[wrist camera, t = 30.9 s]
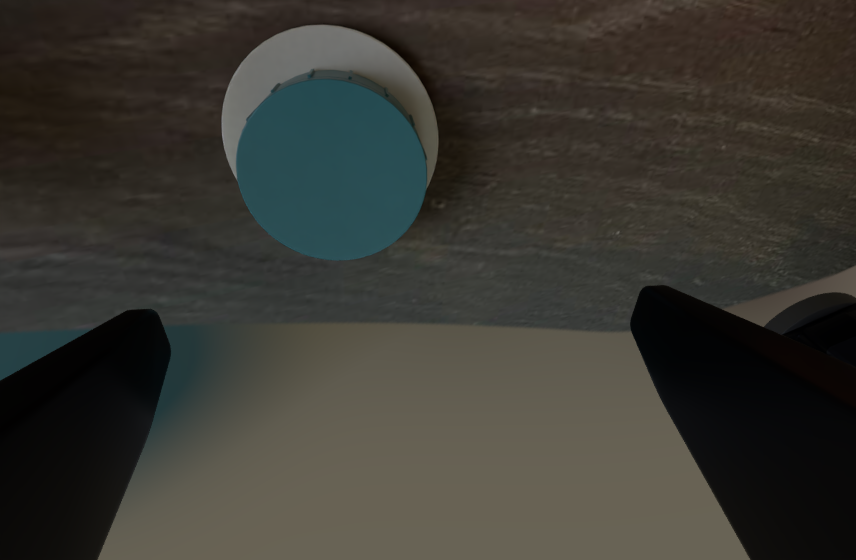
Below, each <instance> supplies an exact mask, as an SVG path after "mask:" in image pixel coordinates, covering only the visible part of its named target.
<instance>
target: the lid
mask: <svg viewBox="0 0 856 560" xmlns="http://www.w3.org/2000/svg"><path fill="white" fill-rule="evenodd" d="M246 121H247V122H246V124H245V126H244V128H243V130H242V133H241V135H240V138H239V141H238V147H237V152H236V173H237V180H238V184H239V188H240V191H241V194H242V196H243V199H244V201H245V203H246V205H247V207H248V209H249V210H250V212H251V214H252V215H253V216H254V218H255V219H256V221H257V222H258V223H259V224H260V225H261V226H262V227H263V228H264V230H265V231H266V232H268V233H269V234H270V235H271V236H272V237H273V238H275V239H276V240H277V241H279V242H280V243H282V244H283V245H285V246H287V247H289V248H291V249H292V250H294V251H297V252H299V253H302V254H304V255H307V256H311V257H315V258H319V259H326V260H352V259H357V258H362V257H365V256H369V255H372V254H374V253H376V252H379V251H381V250H383V249H385V248H386V247H388V246H390V245H391V244H392V243H394V242H395V241H396V240H398V239H399V238H400V237H401V236H402V235H403V234H404V233H405V232H406V231H407V230H408V229H409V227H410V226H411V225H412V223H413V222H414V220H415V219H416V217H417V215H418V213H419V211H420V209H421V206H422V204H423V201H424V197H425V194H426V187H427V164H426V160H427V156H426V153H425V150H424V148H423V147H422V144H421V141H420V138H419V136H418V133H417V130H416V128H415V122H414V120H413V117H412V115H411V114H410V115H409V114H408V113H407V111H406V110H405V109H404V107H403V106H402V105H401V104H400V102H399V101H398V100H397V99H396V98H395V97H394V96H393V95H392V94H391V93H390V92H388V88H387V87H385V88H383V87H382V86H380V85H378V84H377V83H375V82H373V81H371V80H370V79H367V78H365V77H362V76H360V75H357V74H354V73H353V71H352V70H350V72H346V71H338V70H318V71H315V70H314V69H311V70H310V72H307V73H304V74H301V75H298V76H295V77H293V78H291V79H289V80H287V81H285V82H284V83H282V84H280V83H278V84H276V85H275V86H274V88H273V89H272V90H271V93H270V94H269V95H268V96H267V97H266V98H265V99H264V100H263V101H262V102H261V103H260V105H259V106H258V107H257V108H256V109H255V110H254V111H253V112H252V113H251V114H250V115H249V116H248V117H247V118H246Z"/></svg>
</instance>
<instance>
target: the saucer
mask: <svg viewBox="0 0 856 560" xmlns="http://www.w3.org/2000/svg"><path fill="white" fill-rule="evenodd" d="M311 69H314V70H315V71H318V70H338V71H346V72H350V70H352V71H353V73H354V74H357V75H360V76H362V77H365V78H367V79H370V80H371V81H373V82H375V83H377V84H378V85H380V86H382V87H383V88H385V87H387V88H388V92H390V93H391V94H392V95H393V96H394V97H395V98H396V99H397V100H398V101H399V102H400V104H401V105H402V106H403V107H404V109H405V110H406V111H407V113H408V114H409V115H410V114H411V115H412V117H413V120H414V122H415V128H416V130H417V133H418V136H419V138H420V141H421V144H422V147H423V148H424V150H425V153H426V156H427V160H426V164H427V187H428V185H429V183H430V181H431V178H432V176H433V173H434V170H435V166H436V162H437V156H438V146H439V140H438V126H437V120H436V115H435V112H434V109H433V105H432V102H431V100H430V98H429V95H428V93H427V91H426V89H425V87H424V85H423V84H422V82H421V80H420V79H419V77H418V75H417V74H416V73H415V71H414V70H413V69H412V68H411V66H410V65H409V64H408V63H407V62H406V61H405V60H404V59H403V58H402V57H401V56H400V55H399V54H398V53H397V52H396V51H395V50H393V49H392V48H391V47H389V46H388V45H387V44H385V43H384V42H382V41H381V40H379V39H377V38H375V37H373V36H372V35H370V34H367V33H365V32H362V31H360V30H357V29H354V28H350V27H346V26H342V25H334V24H308V25H304V26H299V27H294V28H291V29H289V30H286V31H283V32H281V33H278V34H276V35H275V36H273V37H271V38H269V39H268V40H266V41H264V42H263V43H261V44H260V45H259V46H258V47H256V48H255V49H254V50H253V51H251V53H250V54H249V55H248V56H247V57H246V58H245V59H244V60H243V61H242V63H241V64H240V66H239V67H238V69H237V70H236V72H235V73H234V75H233V77H232V79H231V81H230V84H229V86H228V88H227V91H226V95H225V98H224V102H223V109H222V117H221V124H222V138H223V144H224V149H225V152H226V156H227V159H228V162H229V164H230V167H231V169H232V171H233V174H234V175H235V177H236V179H237V173H236V152H237V147H238V141H239V138H240V135H241V133H242V130H243V128H244V126H245V124H246V122H247V121H246V118H247V117H248V116H249V115H250V114H251V113H252V112H253V111H254V110H255V109H256V108H257V107H258V106H259V105H260V103H261V102H262V101H263V100H264V99H265V98H266V97H267V96H268V95H269V94H270V93H271V90H272V89H273V88H274V86H275V85H276V84H278V83H280V84H282V83H284V82H285V81H287V80H289V79H291V78H293V77H295V76H298V75H301V74H304V73H307V72H310V70H311ZM237 181H238V180H237ZM427 187H426V189H427Z"/></svg>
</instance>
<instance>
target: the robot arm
mask: <svg viewBox="0 0 856 560" xmlns="http://www.w3.org/2000/svg"><path fill="white" fill-rule="evenodd" d="M630 327H631V331H632V334H633V336H634V339H635V341H636V343H637V346H638V348H639V351H640V353H641V355H642V357H643V360H644V362H645V365H646V367H647V369H648V372H649V374H650V376H651V378H652V381H653V383H654V386H655V388H656V389H657V392H658V394H659V396H660V398H661V400H662V402H663V404H664V406H665V408H666V410H667V412H668V413H669V415H670V417H671V419H672V420H673V422H674V424H675V426H676V427H677V429H678V431H679V433H680V435H681V436H682V438H683V440H684V442H685V444H686V445H687V447H688V449H689V451H690V452H691V454H692V456H693V458H694V460H695V462H696V463H697V465H698V467H699V469H700V470H701V472H702V474H703V476H704V478H705V479H706V481H707V483H708V485H709V487H710V488H711V490H712V492H713V494H714V495H715V497H716V499H717V501H718V503H719V505H720V506H721V508H722V510H723V512H724V513H725V515H726V517H727V519H728V521H729V522H730V524H731V526H732V528H733V529H734V531H735V533H736V535H737V537H738V538H739V540H740V542H741V544H742V545H743V547H744V549H745V551H746V553H747V555H748V556H749V558H750V560H856V303H855V304H852V305H850V306H848V307H845V308H843V309H841V310H838V311H836V312H834V313H831V314H829V315H827V316H824V317H822V318H820V319H818V320H815V321H813V322H811V323H808V324H806V325H804V326H801V327H799V328H797V329H794V330H792V331H790V332H787V333H785V334H783V335H780V334H778V333H776V332H773V331H771V330H769V329H766V328H764V327H762V326H759V325H757V324H755V323H752V322H750V321H748V320H745V319H743V318H740V317H738V316H736V315H734V314H731V313H729V312H727V311H724V310H722V309H720V308H717V307H715V306H713V305H710V304H708V303H706V302H703V301H701V300H699V299H696V298H694V297H692V296H689V295H687V294H685V293H682V292H680V291H678V290H675V289H673V288H671V287H669V286H665V285H657V286H646V287H644V288H642V290H641V291H640V293H639V296H638V299H637V302H636V305H635V308H634V311H633V314H632V317H631V322H630ZM170 356H171V348H170V343H169V341H168V338H167V335H166V333H165V330H164V327H163V325H162V322H161V320H160V317H159V315H158V313H157V312H156V311H154V310H152V309H136V310H127V311H125V312H123V313H121V314H120V315H118V316H116V317H114V318H112V319H111V320H109V321H107V322H105V323H103V324H102V325H100V326H98V327H96V328H94V329H93V330H91V331H89V332H87V333H85V334H84V335H82V336H80V337H78V338H76V339H75V340H73V341H71V342H69V343H67V344H65V345H64V346H62V347H60V348H58V349H56V350H55V351H53V352H51V353H49V354H47V355H46V356H44V357H42V358H40V359H38V360H37V361H35V362H33V363H31V364H29V365H28V366H26V367H24V368H22V369H20V370H19V371H17V372H15V373H13V374H12V375H10V376H8V377H6V378H4V379H2V380H1V381H0V560H97V559H98V557H99V555H100V552H101V550H102V547H103V545H104V542H105V540H106V537H107V535H108V532H109V530H110V528H111V525H112V523H113V520H114V518H115V516H116V513H117V511H118V508H119V506H120V503H121V501H122V499H123V496H124V494H125V491H126V489H127V486H128V484H129V482H130V479H131V477H132V474H133V472H134V469H135V467H136V465H137V462H138V460H139V457H140V455H141V452H142V450H143V448H144V445H145V442H146V440H147V437H148V434H149V431H150V428H151V425H152V422H153V418H154V415H155V411H156V407H157V403H158V400H159V397H160V393H161V389H162V386H163V382H164V379H165V375H166V371H167V368H168V364H169V361H170Z"/></svg>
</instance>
